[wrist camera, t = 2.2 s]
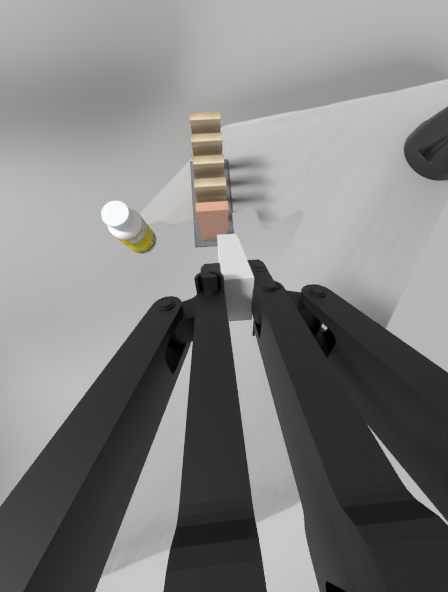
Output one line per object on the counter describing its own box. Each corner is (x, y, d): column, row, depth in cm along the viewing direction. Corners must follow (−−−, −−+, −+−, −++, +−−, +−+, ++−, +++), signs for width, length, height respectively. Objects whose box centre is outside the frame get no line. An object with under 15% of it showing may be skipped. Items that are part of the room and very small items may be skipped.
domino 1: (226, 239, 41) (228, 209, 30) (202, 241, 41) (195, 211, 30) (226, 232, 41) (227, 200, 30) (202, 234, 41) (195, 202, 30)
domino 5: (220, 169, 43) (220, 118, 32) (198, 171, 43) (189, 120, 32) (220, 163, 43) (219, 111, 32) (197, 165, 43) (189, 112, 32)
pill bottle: (124, 238, 41) (89, 207, 30) (148, 224, 41) (121, 189, 30) (138, 259, 40) (107, 236, 29) (162, 245, 41) (140, 217, 30)
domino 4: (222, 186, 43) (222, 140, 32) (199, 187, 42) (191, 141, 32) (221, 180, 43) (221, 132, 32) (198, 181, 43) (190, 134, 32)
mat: (234, 244, 41) (234, 244, 41) (195, 247, 41) (195, 246, 40) (226, 160, 44) (226, 159, 44) (190, 162, 44) (190, 161, 43)
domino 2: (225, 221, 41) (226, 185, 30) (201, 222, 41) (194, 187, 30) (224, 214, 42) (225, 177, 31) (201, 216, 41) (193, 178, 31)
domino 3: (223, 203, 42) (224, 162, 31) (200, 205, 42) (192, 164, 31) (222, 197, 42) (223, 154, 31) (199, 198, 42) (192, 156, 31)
